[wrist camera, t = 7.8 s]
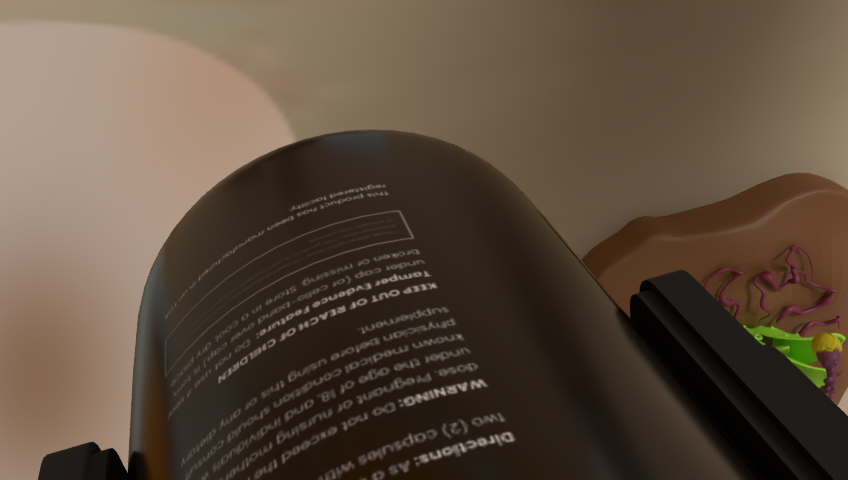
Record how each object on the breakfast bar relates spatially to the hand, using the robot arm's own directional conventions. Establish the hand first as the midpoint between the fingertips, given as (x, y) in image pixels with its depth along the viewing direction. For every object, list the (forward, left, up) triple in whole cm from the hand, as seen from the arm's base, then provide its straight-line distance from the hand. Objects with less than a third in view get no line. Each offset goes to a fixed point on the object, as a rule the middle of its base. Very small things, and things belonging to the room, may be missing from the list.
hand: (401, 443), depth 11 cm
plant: (-19, +24, -24) cm, 39 cm away
